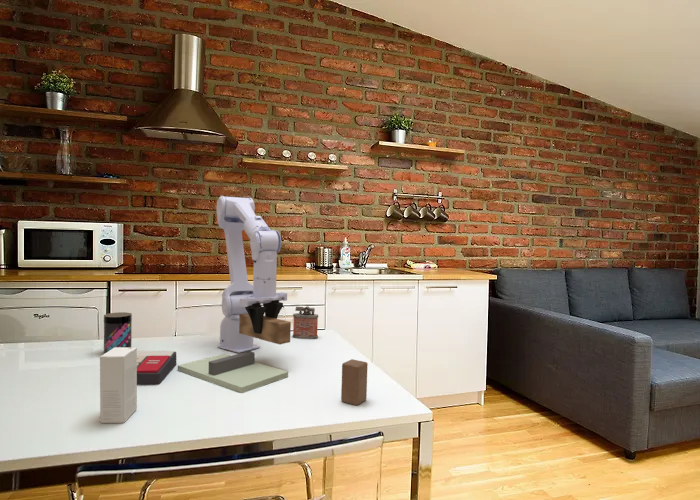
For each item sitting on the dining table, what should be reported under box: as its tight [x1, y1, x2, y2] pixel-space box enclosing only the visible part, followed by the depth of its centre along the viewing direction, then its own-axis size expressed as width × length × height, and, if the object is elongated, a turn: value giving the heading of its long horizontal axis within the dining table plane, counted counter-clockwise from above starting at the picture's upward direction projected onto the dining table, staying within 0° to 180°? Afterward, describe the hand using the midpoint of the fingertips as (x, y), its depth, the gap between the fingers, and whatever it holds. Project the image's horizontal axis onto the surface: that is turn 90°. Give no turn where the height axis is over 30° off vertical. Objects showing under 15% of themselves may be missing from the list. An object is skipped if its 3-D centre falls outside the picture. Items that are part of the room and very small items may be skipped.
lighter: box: [292, 305, 319, 340], centre depth 146 cm, size 8×3×10 cm, turn 84°
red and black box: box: [137, 350, 177, 386], centre depth 107 cm, size 11×4×15 cm
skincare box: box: [99, 347, 138, 424], centre depth 83 cm, size 6×4×12 cm
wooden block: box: [340, 359, 369, 406], centre depth 94 cm, size 4×4×8 cm
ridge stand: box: [177, 350, 289, 394], centre depth 109 cm, size 23×14×4 cm, turn 54°
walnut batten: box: [239, 313, 292, 345], centre depth 116 cm, size 16×3×5 cm, turn 50°
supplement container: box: [103, 311, 133, 354], centre depth 123 cm, size 7×7×10 cm
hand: (263, 331), depth 116 cm, fingers closed on walnut batten, 4 cm apart
